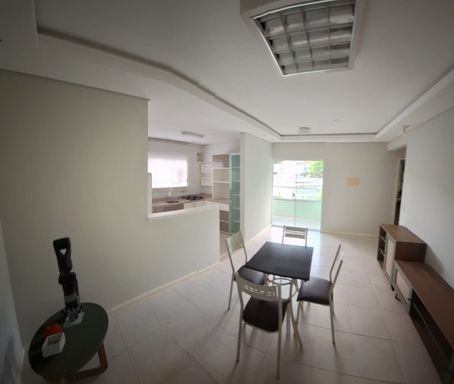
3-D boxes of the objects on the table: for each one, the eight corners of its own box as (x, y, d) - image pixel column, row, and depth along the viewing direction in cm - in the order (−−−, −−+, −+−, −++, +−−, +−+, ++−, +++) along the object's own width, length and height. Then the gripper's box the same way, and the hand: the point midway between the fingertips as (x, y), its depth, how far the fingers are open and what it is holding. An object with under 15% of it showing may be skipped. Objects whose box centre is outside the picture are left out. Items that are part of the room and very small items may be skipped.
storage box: (49, 345, 156) (47, 336, 154) (65, 341, 159) (63, 332, 158) (43, 357, 146) (41, 348, 145) (60, 352, 150) (59, 343, 149)
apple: (43, 337, 162) (40, 326, 161) (60, 329, 170) (58, 317, 169) (45, 346, 155) (43, 333, 154) (63, 336, 163) (61, 325, 161)
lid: (68, 318, 160) (66, 310, 159) (84, 314, 164) (83, 306, 163) (63, 329, 151) (61, 320, 149) (80, 324, 155) (79, 316, 153)
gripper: (83, 293, 160) (85, 312, 163) (60, 297, 155) (64, 318, 158) (80, 299, 153) (83, 319, 156) (57, 304, 148) (60, 325, 151)
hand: (73, 318), depth 157 cm, fingers closed on lid, 3 cm apart
